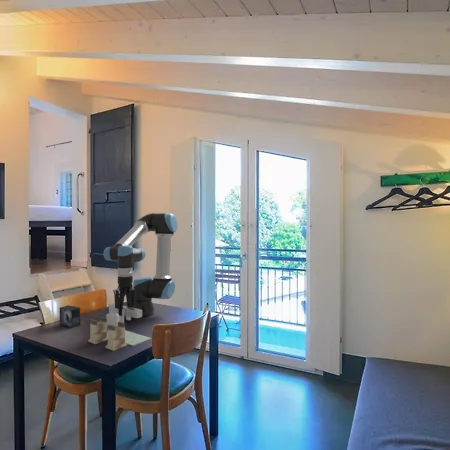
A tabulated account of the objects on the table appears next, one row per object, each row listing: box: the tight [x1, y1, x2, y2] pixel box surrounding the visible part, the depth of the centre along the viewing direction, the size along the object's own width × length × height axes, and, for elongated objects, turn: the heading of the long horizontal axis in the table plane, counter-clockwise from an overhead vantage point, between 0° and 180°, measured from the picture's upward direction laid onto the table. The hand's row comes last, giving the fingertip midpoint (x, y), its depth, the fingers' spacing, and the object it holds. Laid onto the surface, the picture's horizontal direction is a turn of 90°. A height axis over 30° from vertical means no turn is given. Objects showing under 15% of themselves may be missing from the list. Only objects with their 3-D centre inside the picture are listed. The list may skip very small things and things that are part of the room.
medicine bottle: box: [105, 310, 125, 328], centre depth 202 cm, size 7×7×12 cm
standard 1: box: [87, 316, 108, 345], centre depth 178 cm, size 8×6×11 cm
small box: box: [58, 304, 81, 329], centre depth 201 cm, size 11×6×10 cm, turn 62°
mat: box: [107, 329, 152, 347], centre depth 183 cm, size 12×26×1 cm, turn 55°
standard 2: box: [105, 322, 128, 352], centre depth 170 cm, size 8×6×11 cm
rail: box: [108, 302, 143, 319], centre depth 182 cm, size 22×4×4 cm, turn 55°
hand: (125, 320), depth 182 cm, fingers closed on rail, 3 cm apart
